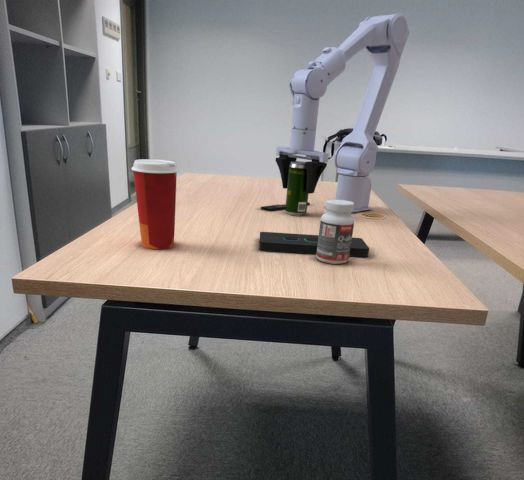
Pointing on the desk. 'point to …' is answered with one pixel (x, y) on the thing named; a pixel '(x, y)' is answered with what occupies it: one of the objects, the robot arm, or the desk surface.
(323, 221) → the pill bottle
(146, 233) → the paper cup
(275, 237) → the smart home device
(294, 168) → the beer can
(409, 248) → the desk surface
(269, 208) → the fork
